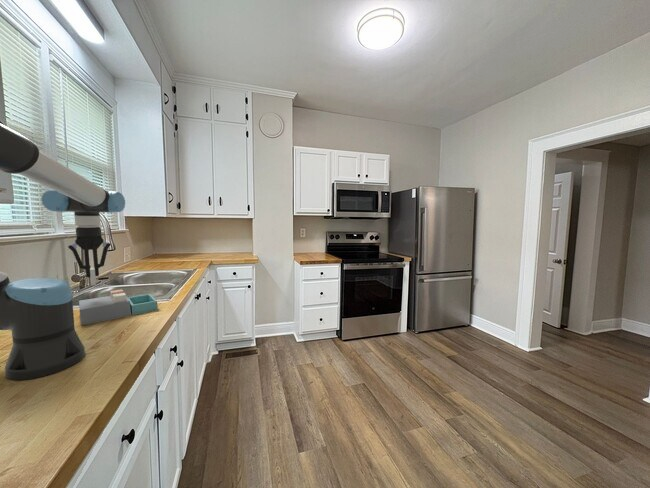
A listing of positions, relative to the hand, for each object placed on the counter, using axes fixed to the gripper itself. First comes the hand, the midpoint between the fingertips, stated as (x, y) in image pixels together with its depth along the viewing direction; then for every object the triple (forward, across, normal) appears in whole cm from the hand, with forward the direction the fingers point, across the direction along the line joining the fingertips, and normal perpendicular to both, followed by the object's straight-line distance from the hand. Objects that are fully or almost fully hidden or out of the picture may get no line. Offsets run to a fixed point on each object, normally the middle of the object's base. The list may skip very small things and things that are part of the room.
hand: (93, 284), depth 108 cm
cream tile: (+7, -7, +7) cm, 12 cm away
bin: (+13, -15, +4) cm, 20 cm away
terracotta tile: (+7, -7, 0) cm, 10 cm away
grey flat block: (+13, -3, +4) cm, 13 cm away
